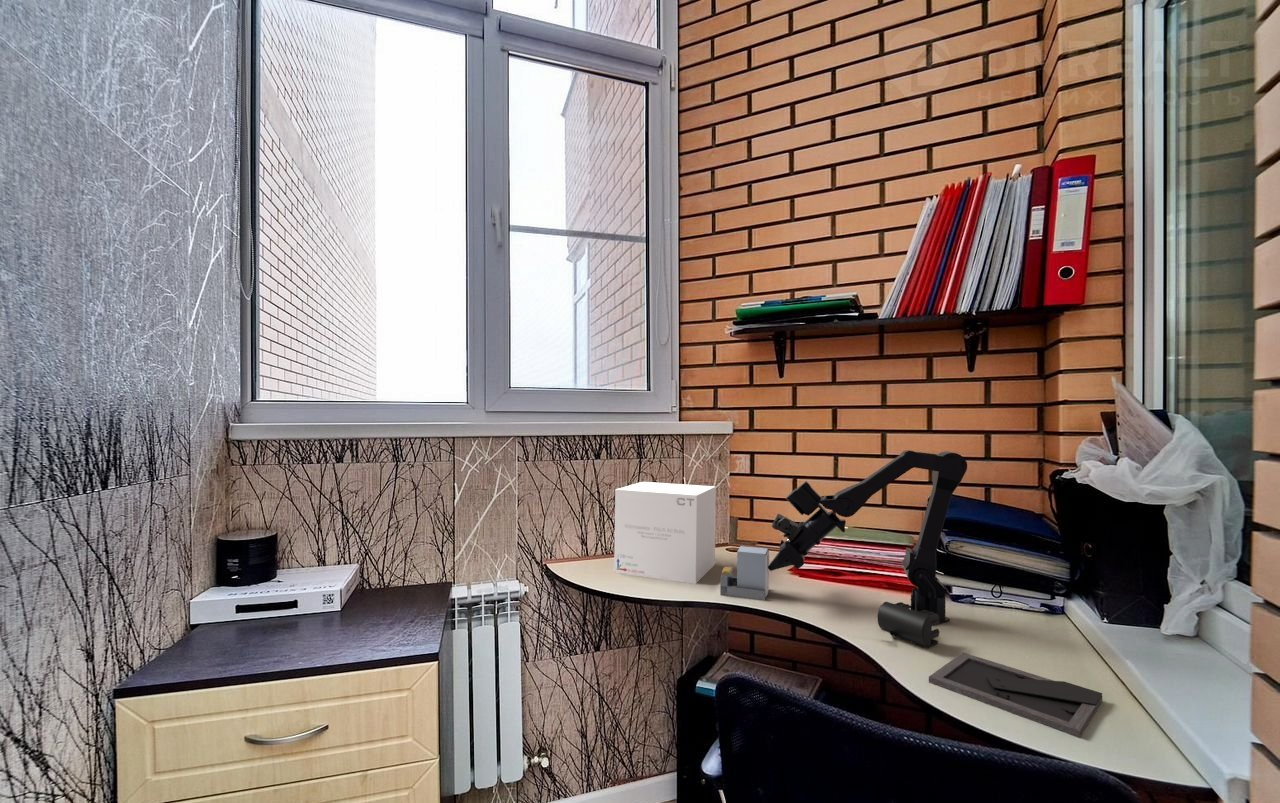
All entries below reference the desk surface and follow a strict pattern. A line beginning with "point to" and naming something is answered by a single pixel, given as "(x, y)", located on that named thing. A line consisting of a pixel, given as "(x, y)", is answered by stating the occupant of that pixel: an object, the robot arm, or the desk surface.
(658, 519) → the cube
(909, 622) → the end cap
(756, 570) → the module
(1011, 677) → the picture frame
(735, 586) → the rack deck
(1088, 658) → the desk surface
